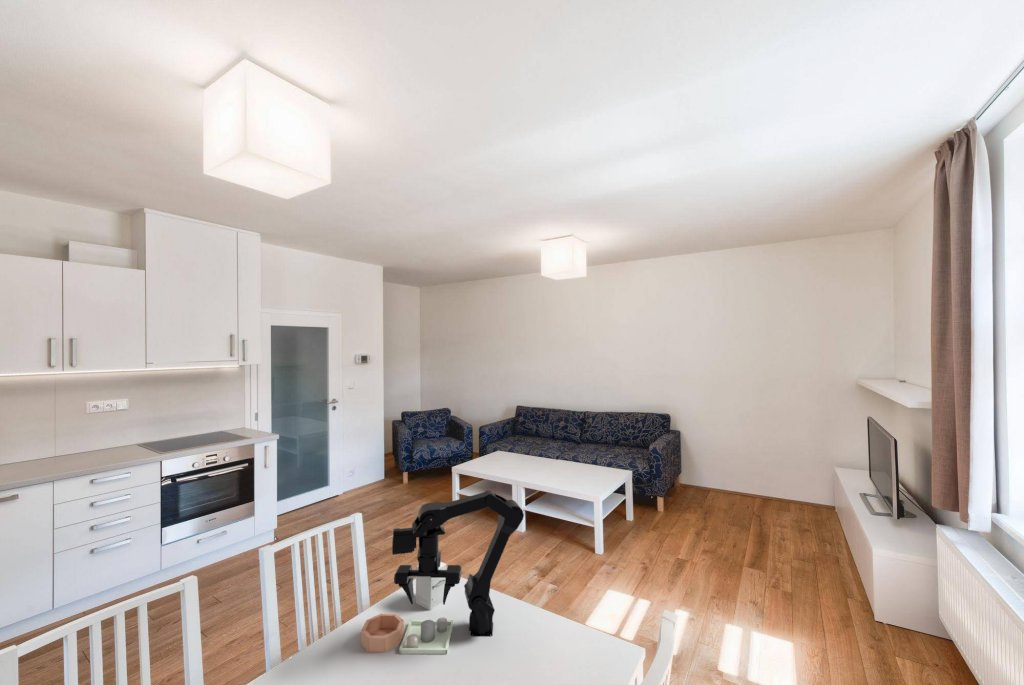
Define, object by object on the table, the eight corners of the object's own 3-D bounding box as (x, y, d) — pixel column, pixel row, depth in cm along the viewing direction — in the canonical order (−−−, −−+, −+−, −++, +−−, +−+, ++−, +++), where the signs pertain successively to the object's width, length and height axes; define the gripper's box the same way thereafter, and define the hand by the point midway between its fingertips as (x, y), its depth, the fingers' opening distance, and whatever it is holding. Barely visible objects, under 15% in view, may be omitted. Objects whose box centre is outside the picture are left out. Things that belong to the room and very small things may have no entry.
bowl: (406, 628, 129) (406, 613, 129) (396, 653, 118) (396, 638, 118) (370, 627, 129) (370, 613, 129) (356, 653, 118) (357, 637, 118)
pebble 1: (418, 643, 121) (419, 634, 121) (416, 651, 118) (416, 641, 118) (408, 643, 121) (408, 633, 121) (405, 651, 118) (405, 641, 118)
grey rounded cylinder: (435, 633, 126) (435, 619, 126) (433, 642, 122) (433, 628, 122) (422, 633, 126) (422, 619, 126) (419, 642, 122) (419, 628, 122)
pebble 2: (447, 626, 129) (447, 617, 129) (446, 632, 126) (446, 623, 126) (437, 626, 129) (437, 617, 129) (436, 632, 126) (436, 623, 126)
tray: (453, 625, 130) (453, 620, 130) (447, 655, 118) (447, 649, 118) (410, 625, 130) (410, 620, 130) (399, 655, 118) (399, 649, 118)
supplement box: (430, 612, 137) (430, 572, 137) (415, 604, 141) (415, 565, 142) (446, 601, 143) (447, 563, 143) (431, 594, 147) (432, 557, 148)
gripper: (463, 537, 132) (463, 588, 132) (403, 537, 133) (403, 588, 132) (459, 554, 121) (459, 610, 121) (393, 554, 121) (393, 610, 121)
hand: (428, 603), depth 124 cm, fingers open, 9 cm apart
